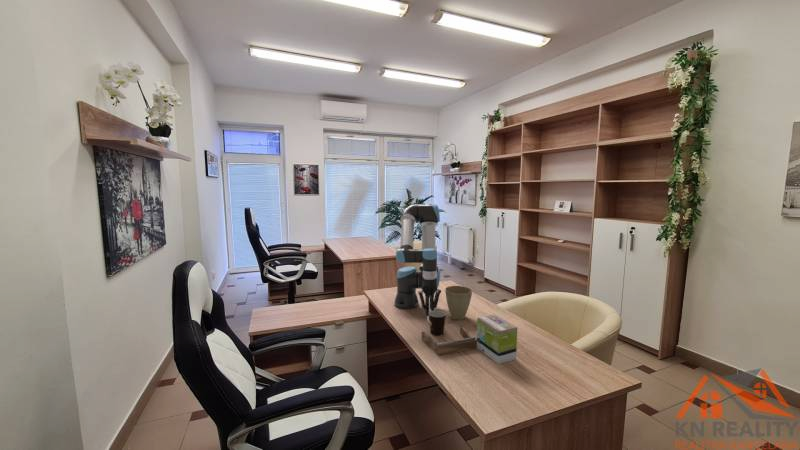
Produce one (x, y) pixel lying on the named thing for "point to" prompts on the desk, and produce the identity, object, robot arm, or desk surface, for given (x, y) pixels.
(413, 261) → the robot arm
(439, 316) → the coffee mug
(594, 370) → the desk surface
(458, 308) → the plant pot
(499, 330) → the tea box
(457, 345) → the organizer
